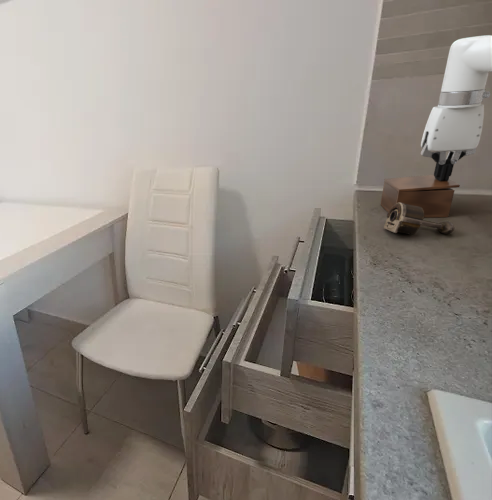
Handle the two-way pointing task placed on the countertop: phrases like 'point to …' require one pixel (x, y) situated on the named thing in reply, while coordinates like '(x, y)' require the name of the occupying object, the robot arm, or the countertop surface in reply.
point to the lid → (419, 183)
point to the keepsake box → (419, 200)
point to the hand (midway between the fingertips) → (441, 179)
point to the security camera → (412, 220)
